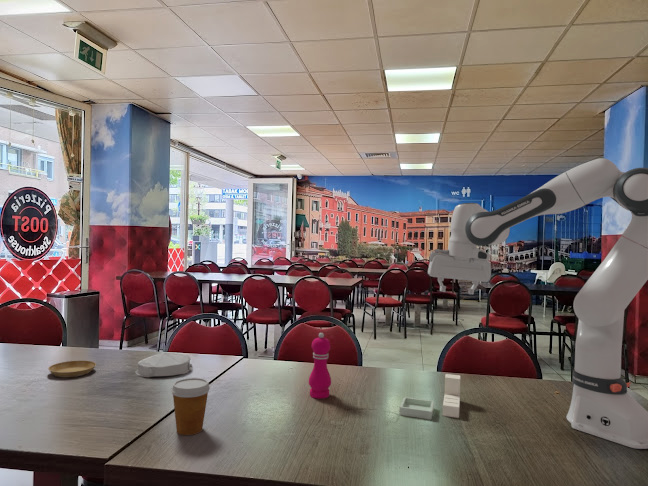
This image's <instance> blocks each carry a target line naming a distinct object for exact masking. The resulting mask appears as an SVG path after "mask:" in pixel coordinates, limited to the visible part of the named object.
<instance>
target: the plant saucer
mask: <svg viewBox="0 0 648 486" xmlns="http://www.w3.org/2000/svg"><path fill="white" fill-rule="evenodd" d="M96 366H97V363H96V362H94V361H91V360H68V361H61V362H58V363H54V364H52V365H50V366H48V370H49V372H50V373H51V374H52V375H53V376H54V377H58V378H74V377H75V378H76V377H81V376H84V375H88V374H89V373H90V372H91V371H93V370H94V368H95V367H96Z"/></svg>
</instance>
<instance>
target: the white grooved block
mask: <svg viewBox="0 0 648 486" xmlns="http://www.w3.org/2000/svg"><path fill="white" fill-rule="evenodd" d="M460 398H461V395H460V396H457V395H449V394H445V393H444V396H443V402H442V416H443V417H451V418H458V419H459V418H460V405H461V404H460V401H461V399H460Z"/></svg>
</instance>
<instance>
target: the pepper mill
mask: <svg viewBox="0 0 648 486" xmlns="http://www.w3.org/2000/svg"><path fill="white" fill-rule="evenodd" d="M311 349H312V351H313V352H312V355H313V356H312V358H313V368H312V370H311V373H310V375H309V377H308V385H309V387H310V389H309V396H310V397H311V398H313V399H319V400H320V399H327V398H329V397H330V387H331V386H332V385H331V384H332V378H331V374H330V372H329V369H328V365H327V363H328V362H327V361H328V359H329V351H330V350H331V343H330V340H329V339H328V338H326V337H325V334H324V333H323V332H319V333H318V337H316V338H314V339H313V340H312V342H311Z"/></svg>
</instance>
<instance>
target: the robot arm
mask: <svg viewBox="0 0 648 486" xmlns="http://www.w3.org/2000/svg"><path fill="white" fill-rule="evenodd" d="M602 198H610V199H612V200H613V201H614V202H616V203H617V205H619V206H620V207H621V208H622V209H625V210H627V211H629V212H630V213H631V219H630V222H629V224H628V226H627V227H626V228H625V230H624V231H623V232H622V234H621V236H620V237H619V238H618V239H617V241H616V243H615V244H614V245H613V247H612V248H611V249H610V251H608V254H607V255H606V257H605V258H604V259H603V260H602V262H601V263H600V264H599V265H598V267H597V268H596V269H595V271H594V272H593V273H592V275H591V276H590V277H589V278H588V279H587V280H586V282H585V284H583V286H582V287H581V289H580V290H579V291H578V292H577V294H576V295H575V297H574V300H573V311H574V313H575V314H574V315H575V316H576V317H577V318H578V324H577V331H576V337H575V338H576V339H575V342H574V343H575V347H574V348H575V351H574V368H573V370H572V379H571V380H572V381H571V382H572V388H573V389H572V394H571V395H572V396H571V401H570V405H569V408H568V412H567V414H566V419H567V421H568V422H569V423H570V424H571V428H572V429H575V430H578V431H580V432H583V433H587V434H590V435H592V436H596V437H598V438H601V439H603V440H607V441H610V442H612V443H613V442H614V443H616V444H619V445H622V446H625V447H629V448H631V449H638V450H643V449H645V450H646V449H648V410H647V409H645V408H644V407H643V406H642V405H641V404H640V403H639V402H638V401H636V399H635V398H634V397H633V396H631V394H629V392H628V388H629V387H631V384H632V382H631V381H630V382H626V381H625V380H624V379H623V377H622V376H621V375H622V374H621V373H622V372H621V371H622V351H623V350H622V349H623V348H622V345H623V335H624V334H623V333H624V322H625V320H624V319H625V318H624V317H625V310H626V309H627V308H628V306H629V304H630V303H631V302H632V301H633V299H634V298H635V297H636V295H637V294H638V292H640V290H641V289H642V288H643V286H644V285H645V284H646V282H647V281H648V167H635V168H632V169H628V170H627V171H626V172H623V171H621V170H620V169H619V168H618V167H617V165H616V164H615V163H614V162H613V161H612V160H610V159H609V158H603V157H601V158H600V157H599V158H596V159H593V160H589V161H586V162H584V163H581V164H579V165H577V166H574V167H572V168H571V169H568V170H566V171H565V172H562V173H560V174H559V175H557V176H555V177H554V178H552V179H550V180H549V181H547V182H546V183H545V184H543V185H542V186H539V188H537V189H535V190H533V191H532V192H530V193H529V194H526V195H525V196H523V197H520V198H519V199H517V200H514V201H512V202H511V203H508V204H506V205H504V206H502V207H500V208H498V209H494V210H492V211H488V210H487V209H485V208H484V207H482V206H481V205H480V204H479V203H478V202H464V203H459V204H457V205H456V206H455V207H454V209H453V212H452V216H451V221H450V228H449V229H450V236H449V239H448V245H447V246H448V247H447V249H438V248H435V249H434V250H431V251H430V253H429V265H428V268H427V275H428V276H429V277H433V278H437V282H438V284H439V291H440V292H443V293H446V289H447V286H446V285H444V283H443V282H444V280H445V279H453V280H462V281H472V282H471V284H472V285H471V287H469V288H467V294H468V295H475V290H476V288H478V286H479V282H481V283H488V282H490V280H491V277H492V274H491V273H492V266H491V265H492V264H491V262H490V261H489V260H490V259H491V254H490V253H489V252H486V251H485V250H484V251H483V250H482V249H480V248H477V246H478V247H479V246H481V247H485V246H496V245H499V244H502V243H504V242H505V241H506V240H507V239H508V238H509V235H510V232H511V229H510V228H512V227H514V226H516V225H518V224H521V223H523V222H524V221H527V220H529V219H532V218H535V217H538V216H545V215H561V214H565V213H568V212H572V211H575V210H577V209H580V208H583V207H584V206H586V205H588V204H591V203H593V202H594V201H597V200H600V199H602Z"/></svg>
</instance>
